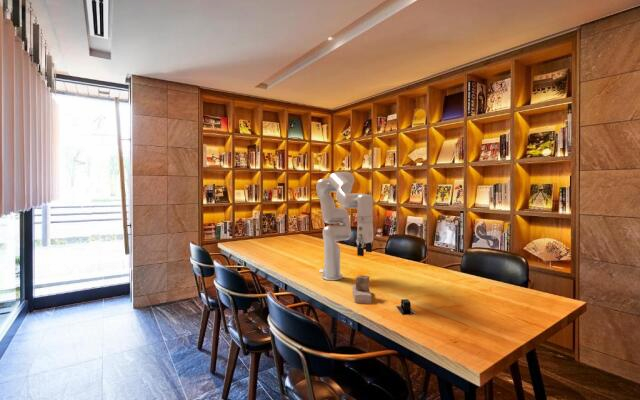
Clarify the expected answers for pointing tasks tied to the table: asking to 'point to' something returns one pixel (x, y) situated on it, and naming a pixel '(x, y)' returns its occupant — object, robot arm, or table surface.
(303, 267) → the table surface
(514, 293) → the table surface
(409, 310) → the black piece
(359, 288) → the brown wooden block
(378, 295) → the table surface
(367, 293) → the brick
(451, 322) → the table surface
